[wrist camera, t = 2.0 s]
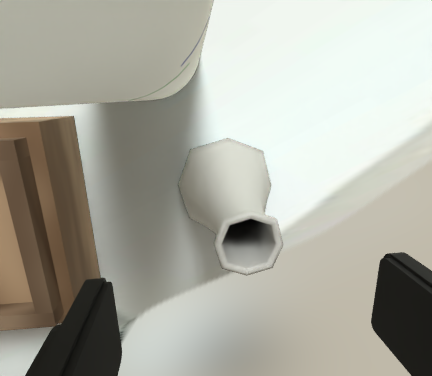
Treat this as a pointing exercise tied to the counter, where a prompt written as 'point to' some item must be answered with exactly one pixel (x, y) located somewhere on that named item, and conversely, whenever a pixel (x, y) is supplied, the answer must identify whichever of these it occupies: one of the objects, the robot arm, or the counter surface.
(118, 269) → the counter surface
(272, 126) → the counter surface
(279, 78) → the counter surface
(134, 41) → the cylindrical container
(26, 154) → the tray
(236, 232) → the flask
